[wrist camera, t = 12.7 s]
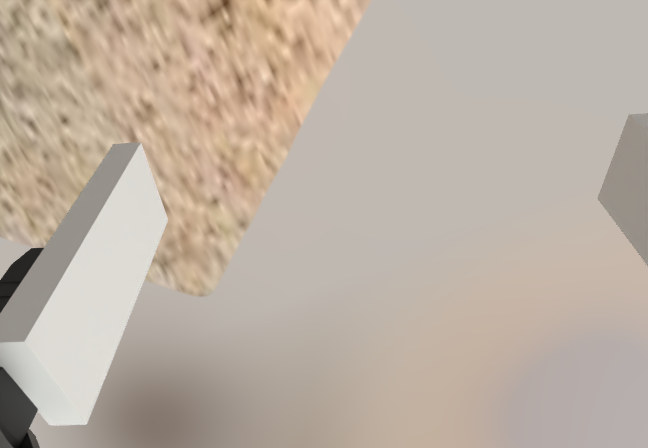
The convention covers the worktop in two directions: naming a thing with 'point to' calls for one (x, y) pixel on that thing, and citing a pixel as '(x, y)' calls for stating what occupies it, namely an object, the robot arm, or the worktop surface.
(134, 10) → the worktop surface
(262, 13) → the worktop surface
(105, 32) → the worktop surface
